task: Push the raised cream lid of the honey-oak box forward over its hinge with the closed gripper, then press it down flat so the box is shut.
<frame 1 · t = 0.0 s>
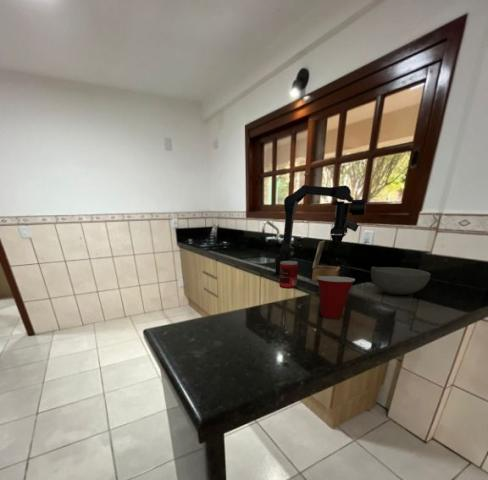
hand: (337, 248, 132), 15 cm above the worktop, tool pointing down, fingers open, 9 cm apart
chest: (325, 279, 134), on the worktop
plastic cup: (330, 316, 81), on the worktop
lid: (318, 254, 131), point 12 cm above the worktop, hinge at 80.0°
canned food: (287, 287, 118), on the worktop
bowl: (394, 294, 105), on the worktop
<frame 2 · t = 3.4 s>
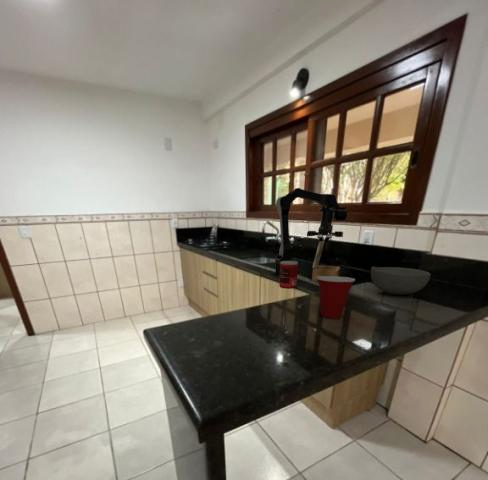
hand: (323, 250, 148), 13 cm above the worktop, tool pointing down, fingers closed
nothing on the worktop moved.
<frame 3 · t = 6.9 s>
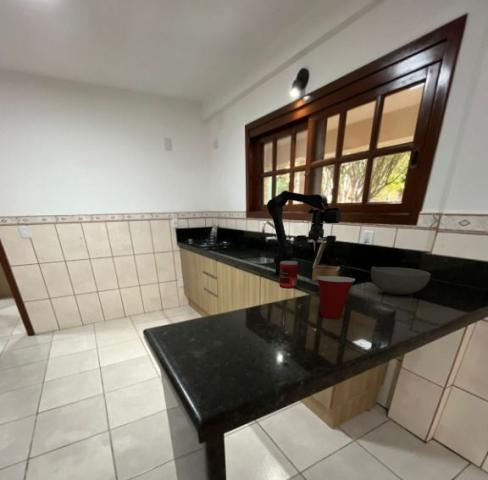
hand: (314, 256, 133), 11 cm above the worktop, tool pointing down, fingers closed
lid: (319, 254, 131), point 12 cm above the worktop, hinge at 74.9°
everything else where it was.
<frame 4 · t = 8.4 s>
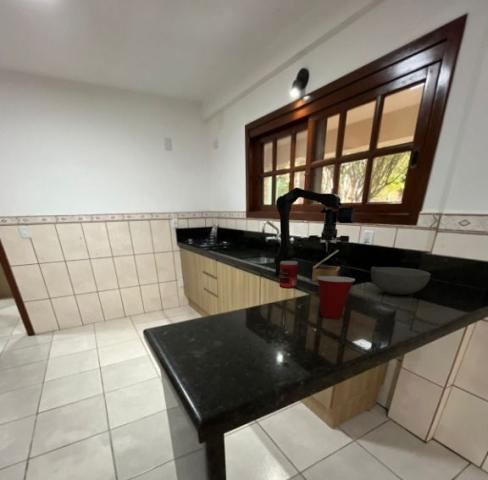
hand: (326, 256, 130), 11 cm above the worktop, tool pointing down, fingers closed
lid: (325, 258, 131), point 10 cm above the worktop, hinge at 38.9°
everything else where it was.
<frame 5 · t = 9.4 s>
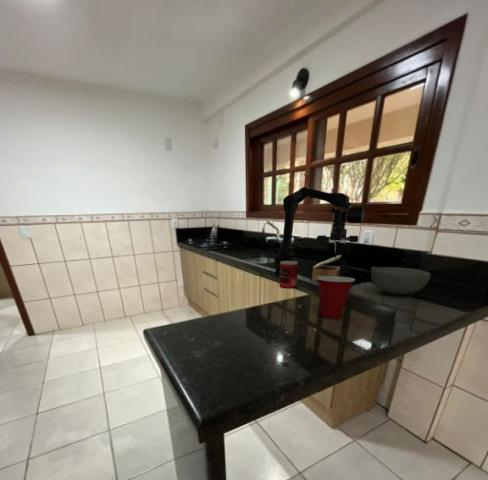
hand: (335, 257, 129), 11 cm above the worktop, tool pointing down, fingers closed
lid: (327, 261, 131), point 9 cm above the worktop, hinge at 25.2°, touching gripper
everything else where it was.
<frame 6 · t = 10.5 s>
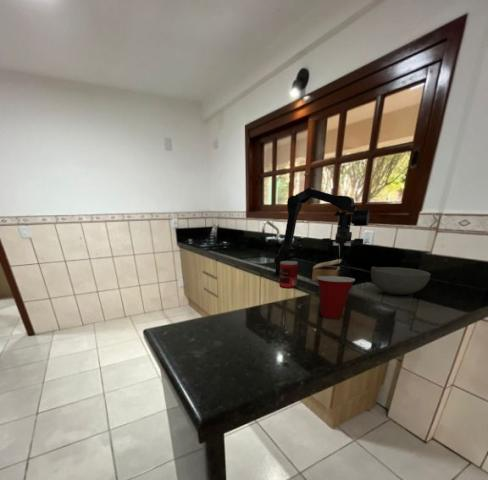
hand: (339, 260, 128), 10 cm above the worktop, tool pointing down, fingers closed
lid: (327, 263, 131), point 8 cm above the worktop, hinge at 15.3°, touching gripper
everything else where it was.
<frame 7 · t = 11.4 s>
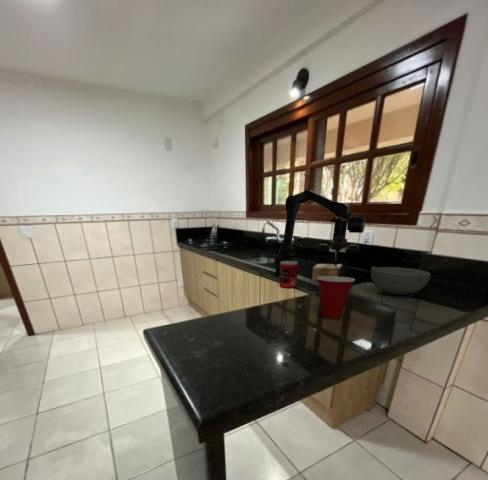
hand: (335, 265, 130), 7 cm above the worktop, tool pointing down, fingers closed, pressing on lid
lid: (327, 266, 132), point 6 cm above the worktop, hinge at 2.1°, touching gripper
everything else where it was.
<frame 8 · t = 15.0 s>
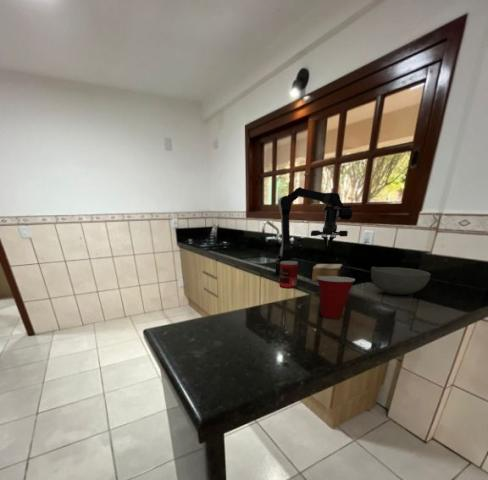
hand: (327, 249, 145), 13 cm above the worktop, tool pointing down, fingers closed
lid: (327, 266, 132), point 6 cm above the worktop, hinge at 2.1°
everything else where it was.
at the end: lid at +2° (first picture: +80°); canned food moved 0.2 cm from its start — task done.
